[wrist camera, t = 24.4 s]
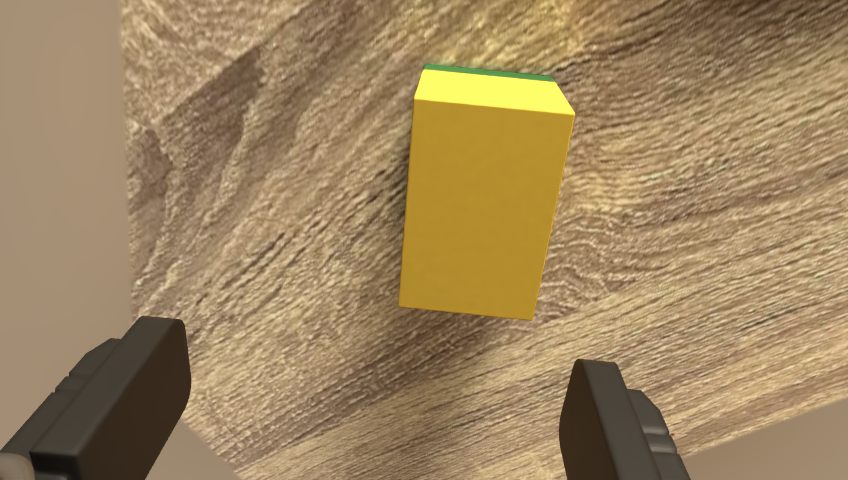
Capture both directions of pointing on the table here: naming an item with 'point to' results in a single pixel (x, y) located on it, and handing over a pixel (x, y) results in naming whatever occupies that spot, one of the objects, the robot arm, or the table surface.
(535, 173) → the sponge
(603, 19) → the table surface
